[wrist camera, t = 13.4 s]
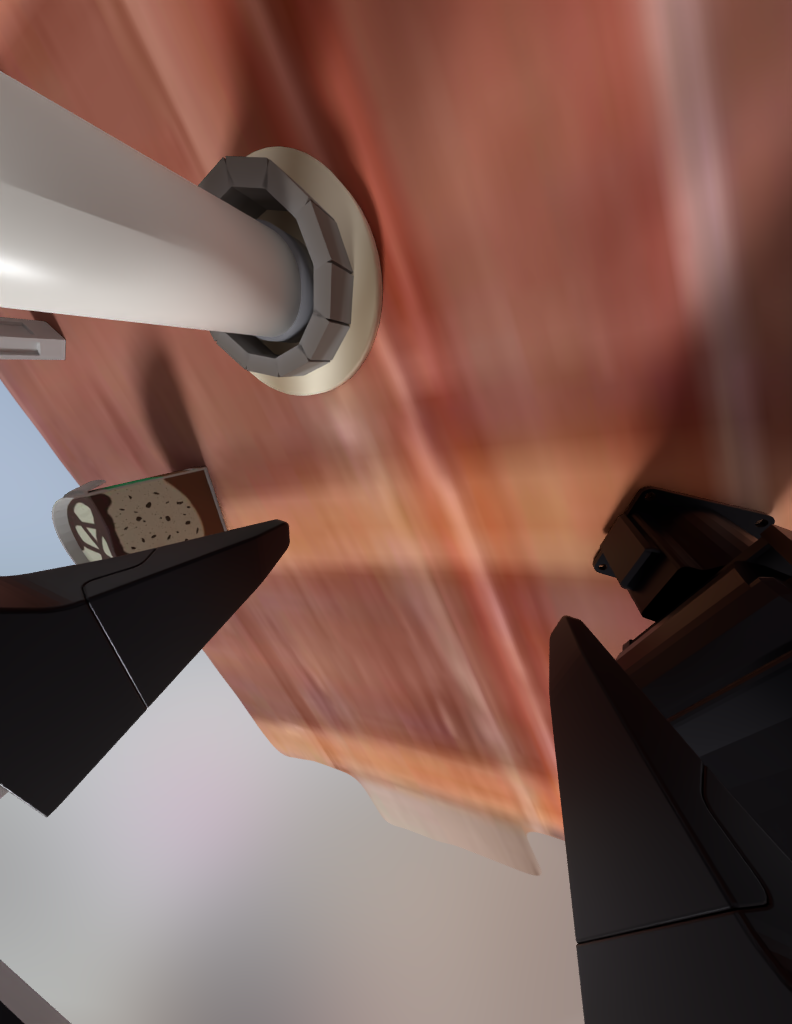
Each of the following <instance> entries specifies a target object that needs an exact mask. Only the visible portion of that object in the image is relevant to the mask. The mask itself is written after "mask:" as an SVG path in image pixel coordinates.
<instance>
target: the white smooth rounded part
mask: <svg viewBox="0 0 792 1024" xmlns="http://www.w3.org/2000/svg"><path fill="white" fill-rule="evenodd" d="M0 307H4V308H13V309H22V310H31V311H40V312H49V313H58V314H67V315H76V316H85V317H94V318H103V319H112V320H121V321H130V322H138V323H147V324H156V325H165V326H174V327H183V328H192V329H201V330H210V331H219V332H228V333H237V334H246V335H254V336H256V337H258V338H260V339H262V340H266V341H275V342H286V343H297V342H300V340H301V338H302V336H303V334H304V332H305V330H306V327H307V325H308V323H309V321H310V319H311V316H312V314H313V312H314V265H313V262H312V260H311V257H310V254H309V252H308V249H307V247H306V246H305V245H304V244H303V243H302V242H300V241H299V240H298V239H296V238H294V237H293V236H291V235H290V234H288V233H286V232H285V231H283V230H281V229H280V228H278V227H276V226H275V225H273V224H271V223H270V222H267V221H265V220H260V219H254V218H252V217H250V216H248V215H247V214H245V213H243V212H242V211H240V210H238V209H236V208H235V207H233V206H231V205H230V204H228V203H226V202H224V201H223V200H221V199H219V198H217V197H216V196H214V195H212V194H211V193H209V192H207V191H205V190H204V189H202V188H200V187H199V186H197V185H195V184H193V183H192V182H190V181H188V180H187V179H185V178H183V177H181V176H180V175H178V174H176V173H175V172H173V171H171V170H169V169H168V168H166V167H164V166H163V165H161V164H159V163H157V162H156V161H154V160H152V159H151V158H149V157H147V156H145V155H144V154H142V153H140V152H138V151H137V150H135V149H133V148H132V147H130V146H128V145H126V144H125V143H123V142H121V141H120V140H118V139H116V138H114V137H113V136H111V135H109V134H108V133H106V132H104V131H102V130H101V129H99V128H97V127H96V126H94V125H92V124H90V123H89V122H87V121H85V120H84V119H82V118H80V117H78V116H77V115H75V114H73V113H72V112H70V111H68V110H66V109H65V108H63V107H61V106H59V105H58V104H56V103H54V102H53V101H51V100H49V99H47V98H46V97H44V96H42V95H41V94H39V93H37V92H35V91H34V90H32V89H30V88H29V87H27V86H25V85H23V84H22V83H20V82H18V81H17V80H15V79H13V78H11V77H10V76H8V75H6V74H5V73H3V72H1V71H0Z"/></svg>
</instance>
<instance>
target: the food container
mask: <svg viewBox="0 0 792 1024" xmlns="http://www.w3.org/2000/svg"><path fill="white" fill-rule="evenodd" d="M105 482H106V481H105V480H95V481H90V482H88V483H86V484H84V485H82V486H80V487H79V488H76V489H74V490H72V491H70V492H68V493H67V494H65V495H64V497H63V498H61V499H59V500H58V501H56V502H55V504H54V506H53V509H52V520H53V524H54V527H55V530H56V533H57V535H58V537H59V539H60V541H61V543H62V545H63V546H64V548H65V550H66V552H67V553H68V554H69V556H70V557H71V559H72V560H73V562H74V563H75V564H82V563H87V562H92V561H97V560H102V559H107V558H112V557H117V556H122V555H126V554H131V553H135V552H140V551H144V550H148V549H152V548H158V547H161V546H165V545H170V544H174V543H178V542H182V541H186V540H191V539H195V538H199V537H203V536H208V535H212V534H216V533H220V532H225V531H227V528H226V525H225V522H224V519H223V516H222V513H221V510H220V507H219V504H218V501H217V498H216V495H215V492H214V489H213V486H212V483H211V480H210V477H209V474H208V471H207V468H206V467H194V468H190V469H185V470H181V471H176V472H172V473H167V474H163V475H158V476H154V477H149V478H145V479H140V480H136V481H132V482H127V483H123V484H118V485H114V486H109V487H105V488H100V489H96V490H92V489H94V488H96V487H97V486H99V485H101V484H103V483H105ZM90 490H91V491H90Z"/></svg>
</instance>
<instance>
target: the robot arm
mask: <svg viewBox="0 0 792 1024" xmlns="http://www.w3.org/2000/svg"><path fill="white" fill-rule="evenodd" d="M647 493H653V494H652V496H651V497H648V498H645V495H646V494H647ZM761 519H763V520H762V522H760V523H758V524H755V523H756V522H757V521H758V520H761ZM774 523H775V520H774V518H773V517H771V516H769V515H768V514H766V513H763V512H759V511H755V510H750V509H746V508H742V507H738V506H733V505H729V504H725V503H721V502H716V501H712V500H708V499H704V498H699V497H695V496H691V495H686V494H682V493H678V492H674V491H669V490H665V489H661V488H657V487H652V486H647V487H643V488H642V489H640V490H639V491H638V493H637V494H636V496H635V497H634V499H633V500H632V502H631V504H630V505H629V507H628V508H627V510H626V511H625V513H624V514H623V515H621V516H619V517H618V518H617V520H616V522H615V523H614V525H613V526H612V528H611V529H610V531H609V533H608V534H607V536H606V537H605V539H604V541H603V542H602V544H601V545H600V548H601V550H600V552H599V554H598V555H597V557H596V558H595V560H594V561H593V567H594V569H595V570H596V571H597V572H599V573H602V574H605V575H609V576H612V577H615V578H617V580H618V582H619V584H620V585H621V587H622V588H624V589H627V590H628V592H629V593H630V595H631V597H632V599H633V601H634V602H635V604H636V606H637V608H638V610H639V611H640V613H641V615H642V617H644V618H646V619H650V620H653V621H655V623H654V624H652V625H651V626H650V627H649V628H648V629H646V630H645V631H644V632H643V633H641V634H640V635H639V636H638V637H636V638H635V639H634V640H629V641H628V642H626V643H625V644H624V645H623V651H622V652H621V653H620V654H619V655H618V657H617V658H616V660H615V659H614V658H613V657H612V656H611V654H610V653H609V652H608V651H607V650H606V649H605V647H604V646H603V645H602V644H601V643H600V642H599V640H598V639H597V638H596V637H595V636H594V635H593V634H592V632H591V631H590V630H589V629H588V628H587V627H586V625H585V624H584V623H583V622H582V621H581V620H579V619H576V618H573V617H570V616H567V615H566V616H563V617H562V618H561V619H560V621H559V623H558V624H557V626H556V627H555V629H554V630H553V632H552V634H551V636H550V653H549V695H550V706H551V715H552V725H553V734H554V743H555V752H556V761H557V771H558V780H559V789H560V798H561V807H562V817H563V826H564V835H565V844H566V853H567V861H568V862H567V863H568V871H569V881H570V890H571V898H572V908H573V917H574V927H575V936H576V941H577V943H578V944H577V945H576V948H577V957H578V966H579V975H580V985H581V994H582V1003H583V1012H584V1021H585V1024H792V531H790V530H787V529H785V528H782V527H779V526H777V525H774ZM289 543H290V538H289V525H288V523H287V522H284V521H281V520H278V519H276V520H271V521H267V522H263V523H258V524H254V525H250V526H246V527H241V528H237V529H233V530H229V531H225V532H220V533H216V534H212V535H208V536H203V537H199V538H195V539H191V540H186V541H182V542H178V543H174V544H170V545H165V546H161V547H158V548H152V549H148V550H144V551H140V552H135V553H131V554H126V555H122V556H117V557H112V558H107V559H102V560H97V561H92V562H87V563H82V564H76V565H71V566H66V567H61V568H55V569H50V570H45V571H39V572H34V573H29V574H22V575H16V576H15V575H14V576H0V798H2V797H3V796H4V795H5V794H6V793H7V792H10V793H12V794H13V795H15V796H16V797H18V798H19V799H20V800H22V801H23V802H25V803H26V804H28V805H29V806H31V807H32V808H33V809H35V810H36V811H38V812H39V813H41V814H42V815H44V816H45V817H48V816H49V815H50V814H51V813H52V812H53V811H54V810H55V809H56V808H57V807H58V806H59V805H60V804H61V803H62V802H63V801H64V800H65V798H67V796H68V795H69V794H70V793H71V792H72V791H73V790H74V789H75V787H77V785H78V784H79V783H80V782H81V781H82V780H83V779H84V778H85V777H86V775H87V774H88V773H89V772H90V771H91V770H92V769H93V768H94V767H95V766H96V765H97V763H98V762H99V761H100V760H101V759H102V758H103V757H104V756H105V755H106V754H107V752H108V751H109V750H110V749H111V748H112V747H113V746H114V745H115V744H116V743H117V741H118V740H119V739H120V738H121V737H122V736H123V735H124V734H125V733H126V732H127V731H128V729H129V728H130V727H131V726H132V725H133V724H134V723H135V722H136V721H137V720H138V719H139V717H140V716H141V715H142V714H143V713H144V712H145V711H146V709H147V708H148V707H149V706H150V705H151V704H152V703H153V702H154V701H155V700H156V698H157V697H158V696H159V695H160V694H161V693H162V692H163V691H164V690H165V689H166V687H167V686H168V685H169V684H170V683H171V682H172V681H173V680H174V679H175V678H176V676H177V675H178V674H179V673H180V672H181V671H182V670H183V669H184V668H185V667H186V665H187V664H188V663H189V662H190V661H191V660H192V659H193V658H194V657H195V656H196V655H197V653H198V652H199V651H200V650H201V649H202V648H203V647H204V646H205V645H206V644H207V643H208V641H209V640H210V639H211V638H212V637H213V636H214V635H215V634H216V633H217V632H218V630H219V629H220V628H221V627H222V626H223V625H224V624H225V623H226V622H227V621H228V619H229V618H230V617H231V616H232V615H233V614H234V613H235V612H236V611H237V610H238V609H239V607H240V606H241V605H242V604H243V603H244V602H245V601H246V600H247V599H248V598H249V596H250V595H251V594H252V593H253V592H254V591H255V590H256V589H257V588H258V587H259V585H260V584H261V583H262V582H263V581H264V579H265V578H266V577H267V575H268V574H269V573H270V571H271V570H272V569H273V567H274V566H275V565H276V563H277V562H278V561H279V559H280V558H281V557H282V555H283V554H284V552H285V551H286V550H287V548H288V546H289ZM601 564H605V566H603V567H599V565H601ZM0 1024H71V1023H70V1022H69V1021H68V1020H66V1019H65V1018H64V1017H63V1016H62V1015H61V1014H60V1013H59V1012H58V1011H56V1010H55V1009H54V1008H53V1007H52V1006H51V1005H50V1004H49V1003H48V1002H46V1001H45V1000H44V999H43V998H42V997H41V996H40V995H39V994H38V993H37V992H35V991H34V990H33V989H32V988H31V987H30V986H29V985H28V984H26V983H25V982H24V981H23V980H22V979H21V978H20V977H19V976H18V975H17V974H15V973H14V972H13V971H12V970H11V969H10V968H9V967H8V966H7V965H6V964H4V963H3V962H2V961H1V960H0Z"/></svg>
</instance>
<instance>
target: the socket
mask: <svg viewBox="0 0 792 1024" xmlns="http://www.w3.org/2000/svg"><path fill="white" fill-rule="evenodd" d="M198 186H199V187H200V188H202V189H204V190H205V191H207V192H209V193H211V194H212V195H214V196H216V197H217V198H219V199H221V200H223V201H224V202H226V203H228V204H230V205H231V206H233V207H235V208H236V209H238V210H240V211H242V212H243V213H245V214H247V215H248V216H250V217H252V218H254V219H260V220H265V221H267V222H270V223H271V224H273V225H275V226H276V227H278V228H280V229H281V230H283V231H285V232H286V233H288V234H290V235H291V236H293V237H294V238H296V239H298V240H299V241H300V242H302V243H303V244H304V245H305V246H306V247H307V249H308V252H309V254H310V257H311V260H312V262H313V265H314V312H313V314H312V316H311V319H310V321H309V323H308V325H307V327H306V330H305V332H304V334H303V336H302V338H301V340H300V342H297V343H286V342H275V341H266V340H262V339H260V338H258V337H256V336H254V335H246V334H237V333H228V332H219V331H210V330H209V331H210V333H211V335H212V337H213V339H214V341H217V344H218V345H219V346H220V347H221V348H222V349H223V350H224V351H225V352H226V353H228V354H229V355H230V356H231V357H232V358H233V359H234V360H235V361H236V362H237V363H239V364H240V365H241V366H242V367H243V368H244V369H247V371H250V372H251V373H252V374H253V375H254V376H255V377H257V378H258V379H259V380H260V381H262V382H263V383H265V384H266V385H268V386H269V387H271V388H273V389H276V390H278V391H280V392H283V393H287V394H291V395H298V396H300V395H313V394H319V393H324V392H328V391H330V390H333V389H335V388H337V387H339V386H341V385H342V384H344V383H345V382H346V381H348V380H349V379H350V378H351V377H352V376H353V375H354V374H355V373H356V372H357V371H358V370H359V368H360V367H361V365H362V364H363V363H364V361H365V360H366V358H367V356H368V354H369V352H370V350H371V348H372V345H373V343H374V340H375V338H376V334H377V330H378V327H379V323H380V316H381V310H382V295H383V288H382V272H381V266H380V259H379V255H378V251H377V247H376V243H375V239H374V237H373V234H372V231H371V228H370V226H369V224H368V222H367V219H366V217H365V215H364V213H363V211H362V209H361V208H360V206H359V205H358V203H357V202H356V200H355V199H354V197H353V196H352V195H351V193H350V192H349V191H348V190H347V189H346V188H345V187H344V185H343V184H342V183H341V182H340V181H339V180H338V179H337V177H336V176H335V175H334V174H333V173H332V172H331V171H330V170H329V169H328V168H327V167H325V166H324V165H323V164H322V163H321V162H320V161H318V160H317V159H315V158H313V157H312V156H310V155H308V154H307V153H304V152H302V151H299V150H296V149H294V148H288V147H280V146H278V147H267V148H264V149H261V150H258V151H255V152H253V153H251V154H249V155H248V156H246V157H237V156H226V159H225V158H222V159H221V160H220V161H219V162H218V163H217V165H216V166H215V167H214V168H213V169H212V170H211V171H210V172H209V174H208V175H207V176H206V177H205V178H204V179H203V180H202V182H201V183H200V184H199V185H198Z"/></svg>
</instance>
